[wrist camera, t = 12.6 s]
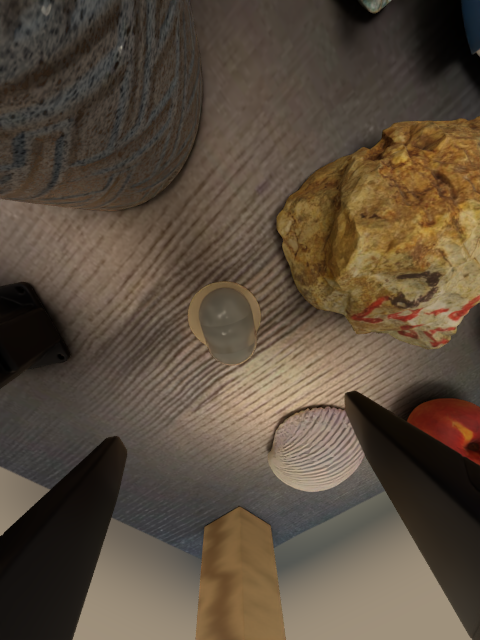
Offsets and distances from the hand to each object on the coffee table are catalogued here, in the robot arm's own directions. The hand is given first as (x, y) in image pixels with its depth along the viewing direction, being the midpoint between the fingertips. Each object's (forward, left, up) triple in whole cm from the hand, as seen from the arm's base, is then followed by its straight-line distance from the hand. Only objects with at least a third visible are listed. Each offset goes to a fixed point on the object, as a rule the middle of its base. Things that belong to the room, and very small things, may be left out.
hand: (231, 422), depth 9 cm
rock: (+9, +3, -10) cm, 14 cm away
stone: (0, 0, -10) cm, 10 cm away
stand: (-5, -28, -10) cm, 30 cm away
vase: (-4, +15, -10) cm, 19 cm away
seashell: (+6, -15, -10) cm, 19 cm away
